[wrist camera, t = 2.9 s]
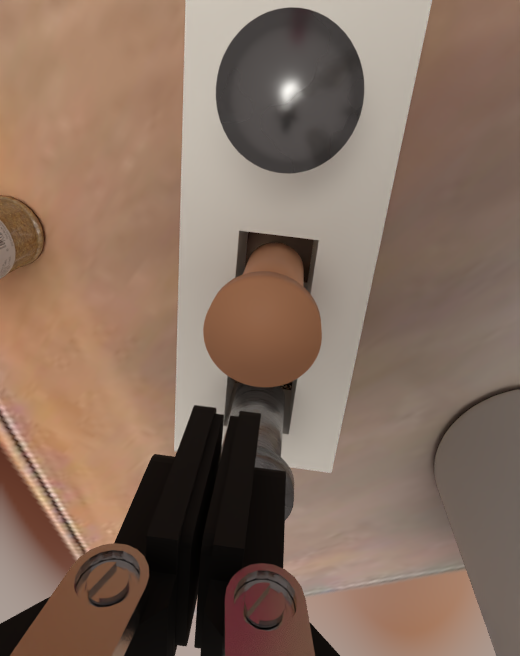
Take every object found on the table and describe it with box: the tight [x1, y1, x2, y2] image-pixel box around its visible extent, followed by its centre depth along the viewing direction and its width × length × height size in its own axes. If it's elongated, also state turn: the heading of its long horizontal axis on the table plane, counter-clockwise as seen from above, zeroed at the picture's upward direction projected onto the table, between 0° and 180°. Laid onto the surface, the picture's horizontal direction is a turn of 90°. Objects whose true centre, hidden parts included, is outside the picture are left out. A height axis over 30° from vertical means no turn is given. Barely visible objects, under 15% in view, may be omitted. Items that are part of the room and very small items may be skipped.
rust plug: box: [203, 242, 322, 387], centre depth 21 cm, size 4×4×8 cm
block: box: [174, 0, 432, 473], centre depth 26 cm, size 10×25×5 cm, turn 174°
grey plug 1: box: [216, 7, 364, 174], centre depth 17 cm, size 4×4×8 cm
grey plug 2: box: [221, 383, 294, 520], centre depth 24 cm, size 4×4×8 cm
